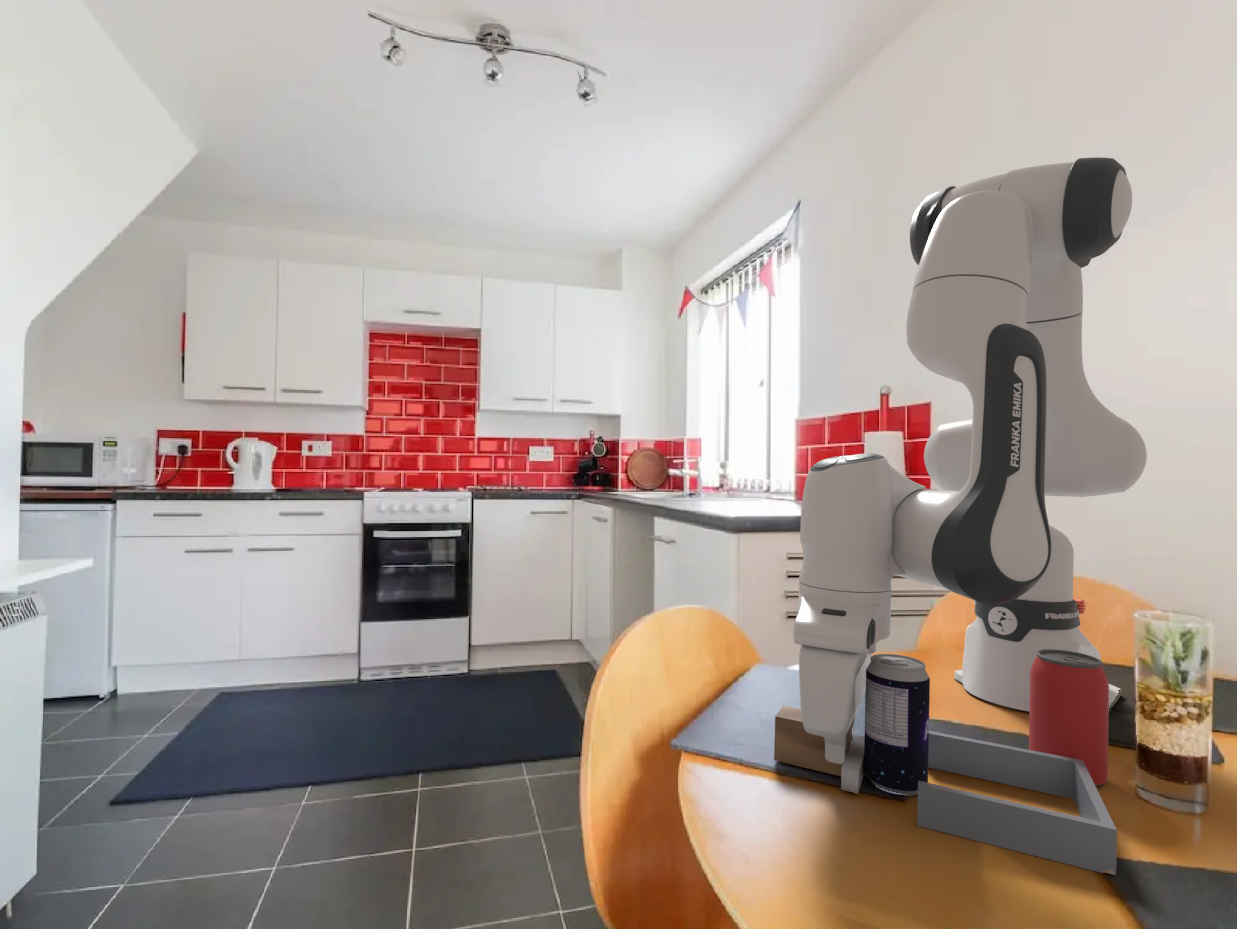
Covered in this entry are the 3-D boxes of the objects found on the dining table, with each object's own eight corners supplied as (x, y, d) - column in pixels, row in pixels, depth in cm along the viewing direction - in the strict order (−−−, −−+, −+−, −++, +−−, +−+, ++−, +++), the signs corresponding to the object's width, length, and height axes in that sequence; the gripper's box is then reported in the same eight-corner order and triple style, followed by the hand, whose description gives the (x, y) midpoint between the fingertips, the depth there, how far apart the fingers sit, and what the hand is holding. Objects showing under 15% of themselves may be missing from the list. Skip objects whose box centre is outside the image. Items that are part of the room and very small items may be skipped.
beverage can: (936, 803, 58) (938, 672, 58) (871, 796, 59) (873, 667, 59) (917, 774, 63) (919, 655, 63) (858, 768, 64) (860, 650, 64)
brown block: (788, 738, 70) (789, 698, 70) (869, 756, 66) (870, 713, 66) (767, 770, 62) (768, 725, 62) (858, 793, 58) (859, 744, 58)
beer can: (1073, 793, 60) (1074, 667, 61) (1013, 762, 67) (1014, 649, 67) (1124, 786, 62) (1126, 664, 62) (1061, 757, 68) (1063, 646, 69)
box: (922, 763, 66) (923, 729, 66) (1082, 797, 60) (1082, 760, 60) (917, 825, 54) (918, 784, 54) (1116, 876, 48) (1116, 829, 48)
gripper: (829, 594, 74) (825, 711, 74) (788, 628, 56) (784, 784, 56) (886, 600, 71) (883, 723, 71) (863, 639, 53) (859, 803, 53)
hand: (839, 750), depth 63 cm, fingers closed on brown block, 3 cm apart
